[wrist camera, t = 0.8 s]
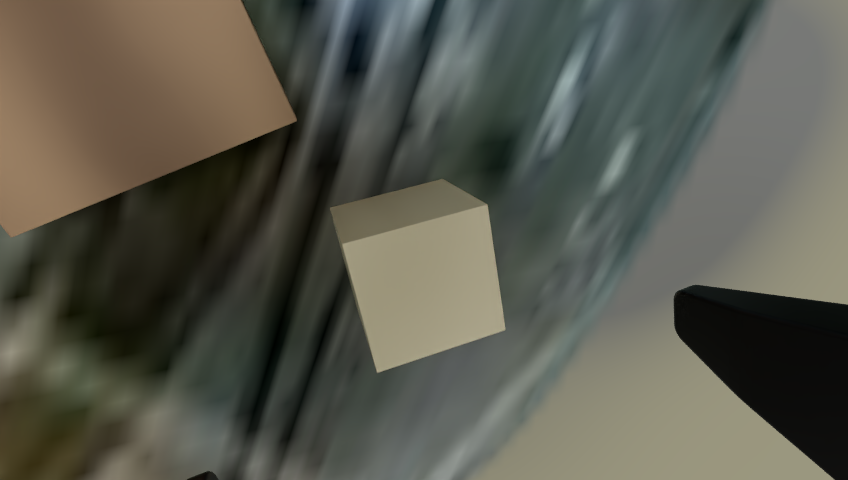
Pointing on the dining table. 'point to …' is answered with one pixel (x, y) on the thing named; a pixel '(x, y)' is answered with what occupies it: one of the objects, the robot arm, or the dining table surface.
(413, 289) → the cube
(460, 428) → the dining table surface
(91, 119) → the walnut block
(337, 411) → the dining table surface
